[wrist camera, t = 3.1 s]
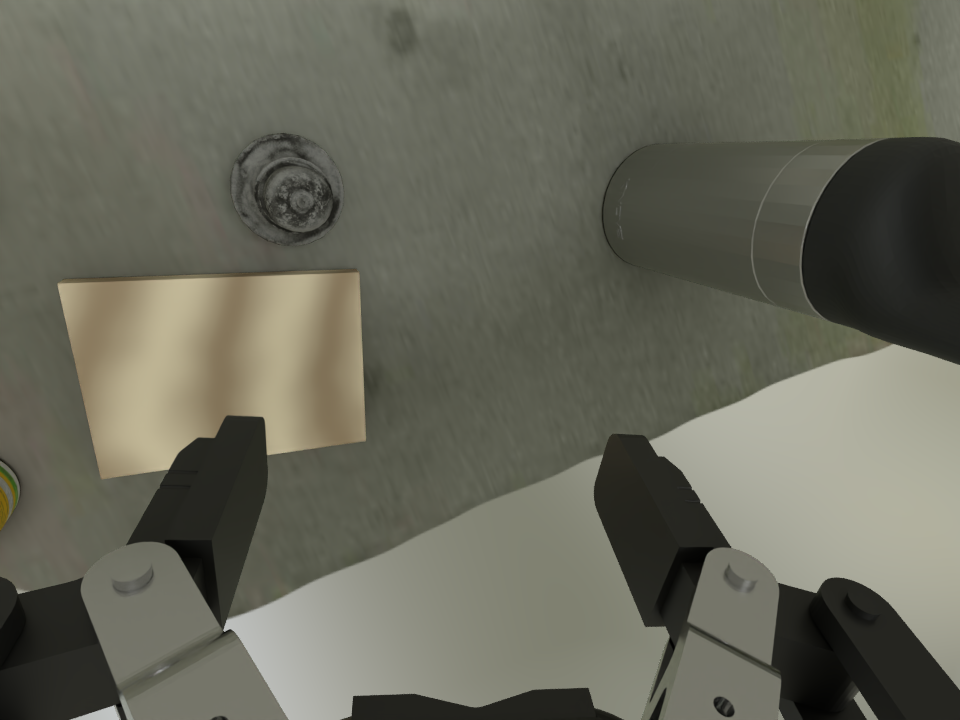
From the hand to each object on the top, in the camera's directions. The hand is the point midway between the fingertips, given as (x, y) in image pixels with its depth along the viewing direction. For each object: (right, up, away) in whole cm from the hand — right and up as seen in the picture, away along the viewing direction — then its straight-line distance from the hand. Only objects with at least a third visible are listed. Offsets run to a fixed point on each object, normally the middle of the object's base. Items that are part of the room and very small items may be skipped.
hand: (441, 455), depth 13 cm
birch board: (-15, +2, +23) cm, 27 cm away
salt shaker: (-11, +13, +21) cm, 26 cm away
